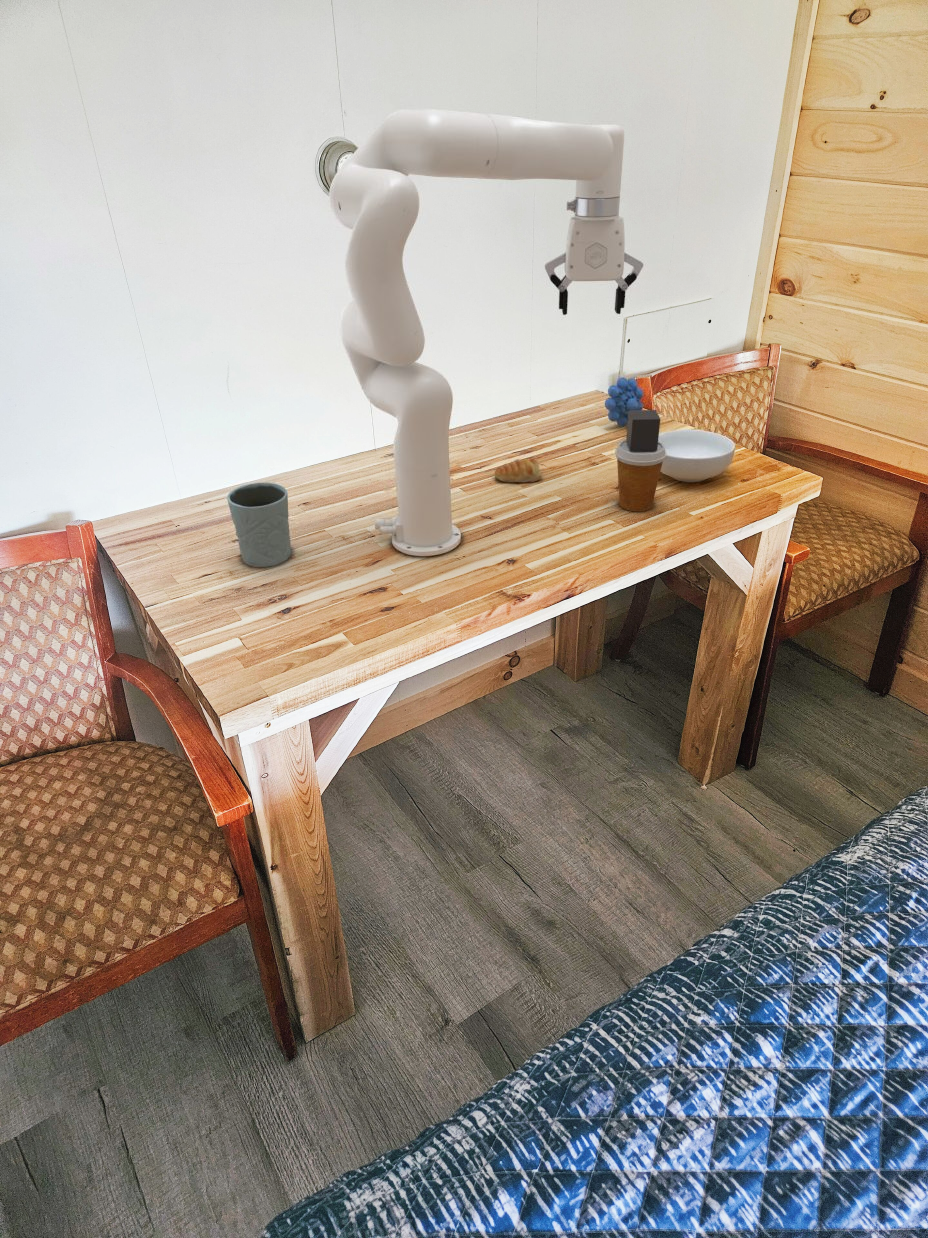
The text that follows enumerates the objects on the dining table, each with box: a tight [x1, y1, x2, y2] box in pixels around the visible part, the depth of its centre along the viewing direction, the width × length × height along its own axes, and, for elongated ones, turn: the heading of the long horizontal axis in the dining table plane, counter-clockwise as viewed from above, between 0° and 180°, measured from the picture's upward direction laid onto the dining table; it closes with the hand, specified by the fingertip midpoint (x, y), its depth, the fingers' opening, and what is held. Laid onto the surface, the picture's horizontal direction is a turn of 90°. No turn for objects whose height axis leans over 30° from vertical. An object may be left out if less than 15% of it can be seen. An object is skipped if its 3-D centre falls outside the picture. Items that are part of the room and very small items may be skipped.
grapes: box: [604, 377, 644, 427], centre depth 192 cm, size 12×7×12 cm, turn 123°
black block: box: [625, 409, 661, 451], centre depth 151 cm, size 5×5×6 cm
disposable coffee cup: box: [614, 439, 667, 512], centre depth 156 cm, size 10×10×12 cm
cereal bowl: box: [658, 429, 736, 483], centre depth 169 cm, size 17×17×7 cm
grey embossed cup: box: [226, 482, 292, 568], centre depth 143 cm, size 10×10×12 cm
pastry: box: [494, 457, 542, 483], centre depth 171 cm, size 9×7×4 cm
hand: (590, 312), depth 149 cm, fingers open, 9 cm apart
